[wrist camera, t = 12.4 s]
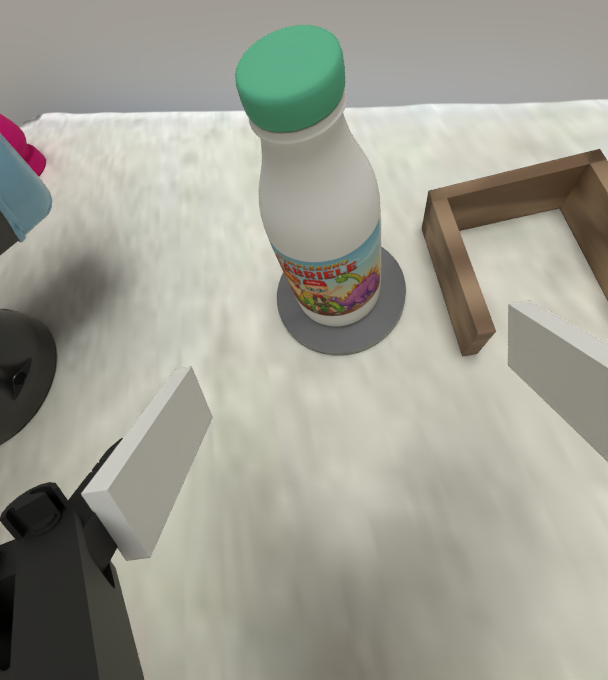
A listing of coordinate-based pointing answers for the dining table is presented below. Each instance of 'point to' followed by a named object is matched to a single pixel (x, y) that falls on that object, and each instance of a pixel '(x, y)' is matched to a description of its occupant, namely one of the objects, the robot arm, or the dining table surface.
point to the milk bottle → (313, 173)
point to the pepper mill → (21, 145)
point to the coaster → (354, 334)
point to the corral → (506, 203)
